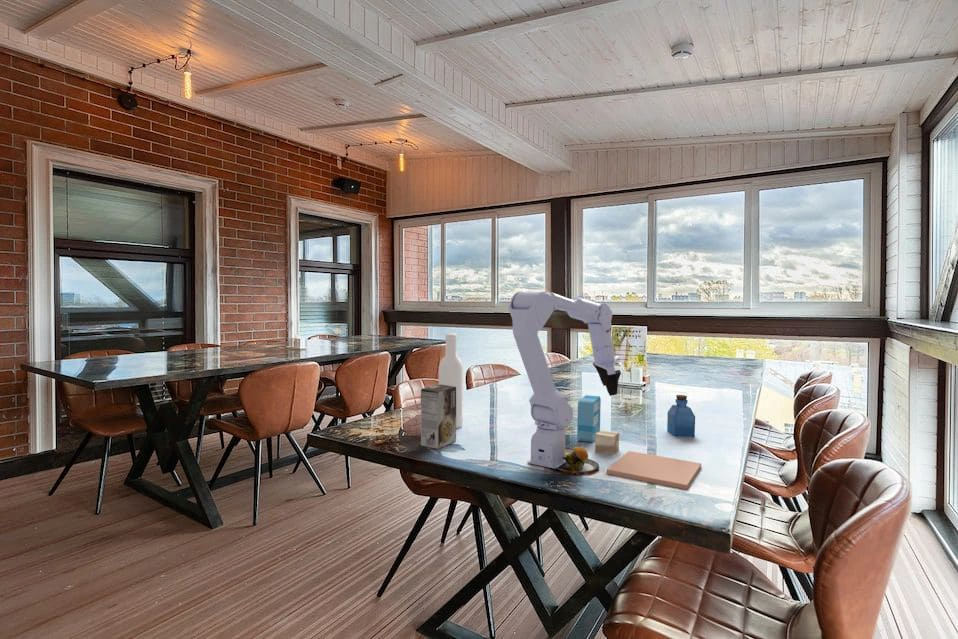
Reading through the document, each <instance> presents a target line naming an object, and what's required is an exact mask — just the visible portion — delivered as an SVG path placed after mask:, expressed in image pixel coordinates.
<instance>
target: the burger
mask: <svg viewBox="0 0 958 639" xmlns="http://www.w3.org/2000/svg"><path fill="white" fill-rule="evenodd" d="M586 444H587V442H586V443H585V445H584V446H583V447H582V446H575V447H573V449H572V450H573V451H570V452H569V454H565V456H566V457H563V459H564V460H565V461H566V462H565V463H564V464H565V466H566V468H567V469H569V470H567V469H564V468H559V467H558V468H556V467H555V468H556V469H557V470H558V471H561V472H562V473H563V474H565V475H574V474H576V475H577V476H581V475H582V476H588V475H593V474H595V473H597V472H599V471H600V464H599V463H598V462H596V461H595V460H593V459H590V458H589V454H588V451H587V450H586V449H585V447H586V446H587V445H586ZM585 464H587V465H589V466H591V467H592V469H591V470H583V469H584V467H585Z"/></svg>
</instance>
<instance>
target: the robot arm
mask: <svg viewBox="0 0 958 639" xmlns="http://www.w3.org/2000/svg"><path fill="white" fill-rule="evenodd" d="M507 308H508V311H509V314H510V316H511V319H512V334H513V337H514V341H515V343H516V346H517V349H518V351H519V352H518V353H519V355H520V357H521V361H522V362H523V366H524V369H525V372H526V374H527V376H528V380H529V383H530V386H531V388H532V391H533V394H532V395H531V397H530V398H529V400H528V401H529V404H530V416H531V418H532V419H533V421H534V425H535V426H536V431H535V432H534V433H533V435H532V437H531V439H530V459H528V460H527V464H530V465H531V464H532V465H535V466H541V467H545V468H550V469H557V468H559V467H561V466H562V465H564V464H565V462H566V461H565V460H564V459H563V457H566V429H569V428H568V427H569V426H570V424H571V422H572V420H573V416H574V411H573V407H572V406H571V404H570V403H569V402H568V401H567V399H566V396H565V395H564V394H563V393H561V392H560V391H559V390H558V389H557V388H556V386H555V383H554V380H553V376H552V373H551V371H550V367H549V365H548V362H547V359H546V356H545V353H544V350H543V346H542V344H541V341H540V337H539V335H538V334H539V331H541V330H542V329H543V328H544V326H545V325H546V323H547V321H548V320H549V319H550V317H551V315H552V314H553V312H555V311H556V310H558V311H561V312H566V313H567V315H568V316H569V317H570V318H571V319H576V320H578V321H582V322H583V323H584V324H587V328H588V332H589V337H590V344H591V350H592V356H593V362H592V365H593V367H594V368H595V369H596V371H597V373H598V375H599V378H600V382H601V384H602V386H603V387H605V389H606V391H607V393H608V395H609V397H612V396H615V395H618V392H619V391H618V389H619V388H618V387H619V379H620V377H621V375H622V371H621V370H620V369H618V370H616V368H615V366H616V363H617V362H618V361H620V356H618V355H615V350H614V344H613V343H614V342H613V337H612V331H611V329H612V319H613V310H612V308H611V307H610V305H608V304H606V303H605V302H603V303H597V302H596V300H595V299H585V296H584V295H577V296H573V297H572V298H568V297H565V296H562V295H561V294H557V293H554V292H553V291H552V292H551V291H544V290H543V291H525V292H524V291H517V292H515V293H514V294H513V295H512V297H511V299H510V302H509V304H508V307H507ZM555 467H556V468H555Z"/></svg>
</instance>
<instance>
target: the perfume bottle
mask: <svg viewBox="0 0 958 639" xmlns="http://www.w3.org/2000/svg"><path fill="white" fill-rule="evenodd" d="M675 396H676V399H675V403H676V404H672V405H671V407H670V408H669V409H668V411H667V418H666V419H667V420H666V421H667V424H666V426H667V427H666V428H667V429H666V431H667V433H669V434H670V435H671V436H673V437H679V438H683V437H684V438H686V437H687V438H688V437H689V438H692V437H693V438H695V437H696V434H695V433H696V431H695V430H696V429H695V428H696V416H695V413H694V412H693V410H692V408H691V407H690V406H688V405H687V404H688V402H689V401H688V395H685V394H676V395H675Z"/></svg>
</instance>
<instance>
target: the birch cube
mask: <svg viewBox="0 0 958 639" xmlns="http://www.w3.org/2000/svg"><path fill="white" fill-rule="evenodd" d="M619 451H620V432H617V431H612V430H611V431H610V430H604V429H600V431H599V432H598V433H596V434H595V441H594V452H596V453H600V454H605V455H610V456H611V455H616V453H617V452H619Z"/></svg>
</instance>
